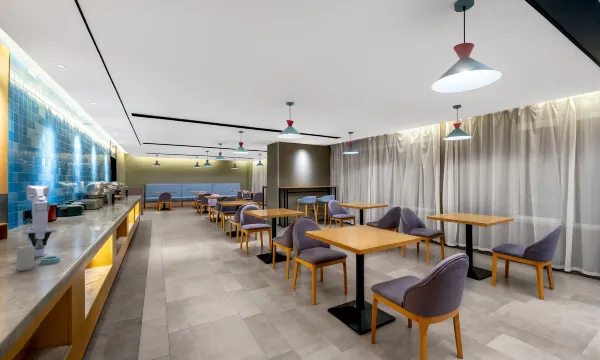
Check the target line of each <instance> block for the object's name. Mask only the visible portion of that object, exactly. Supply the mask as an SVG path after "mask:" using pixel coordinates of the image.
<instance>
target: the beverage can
mask: <svg viewBox="0 0 600 360" xmlns="http://www.w3.org/2000/svg"><path fill="white" fill-rule="evenodd" d="M34 260H35V257H34V247H33V246H29V245H22V246H19V247H17V249H16V263H15V264H16V265H15V270H16V271H18V272H24V271H29V270H32V269H33V268H34V266H35V261H34Z"/></svg>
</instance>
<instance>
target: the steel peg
mask: <svg viewBox="0 0 600 360" xmlns="http://www.w3.org/2000/svg"><path fill="white" fill-rule="evenodd" d="M44 241H45V238H36V239H35V250H39V249H44Z"/></svg>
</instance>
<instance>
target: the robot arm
mask: <svg viewBox="0 0 600 360" xmlns="http://www.w3.org/2000/svg"><path fill="white" fill-rule="evenodd" d="M49 192H50V186H49V185H30V184H28V185H27V186H26V199H27V201H31V206H32V225H30V226H29V227H27V228H26V230H22V231H21V235H22V236H23V235H24V236H25V241H26V242H28V246H33V247H34V258H36V257H37V258H38V257H46V255H47V253H48V252H47V251H46V246H47V243H48V240H49V238H50V237H51V235H52V234H53V233H55V234H57V233H58V228H49V227H48V221H49V220H48V218H49V217H48V215H49V210H50V201H49V200H48V198H49ZM36 238H45V241H44V249H39V250H35V239H36Z"/></svg>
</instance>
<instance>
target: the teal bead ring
mask: <svg viewBox="0 0 600 360" xmlns="http://www.w3.org/2000/svg"><path fill="white" fill-rule="evenodd" d="M60 261H61V256H60V255H50V256H43V257H41V258H40V265H53V264H57V263H60Z"/></svg>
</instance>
